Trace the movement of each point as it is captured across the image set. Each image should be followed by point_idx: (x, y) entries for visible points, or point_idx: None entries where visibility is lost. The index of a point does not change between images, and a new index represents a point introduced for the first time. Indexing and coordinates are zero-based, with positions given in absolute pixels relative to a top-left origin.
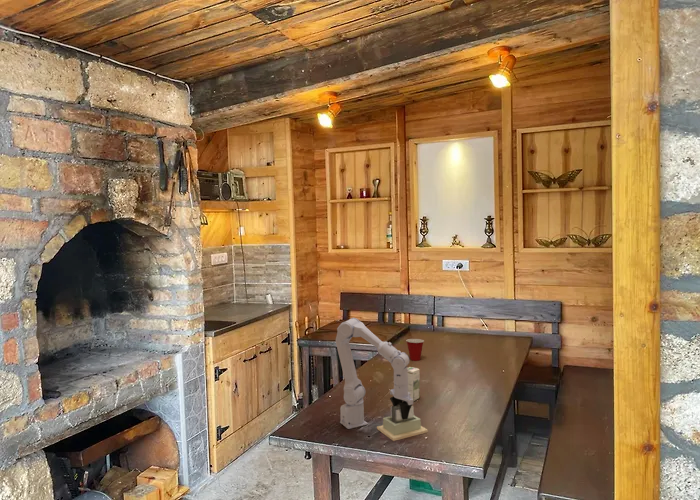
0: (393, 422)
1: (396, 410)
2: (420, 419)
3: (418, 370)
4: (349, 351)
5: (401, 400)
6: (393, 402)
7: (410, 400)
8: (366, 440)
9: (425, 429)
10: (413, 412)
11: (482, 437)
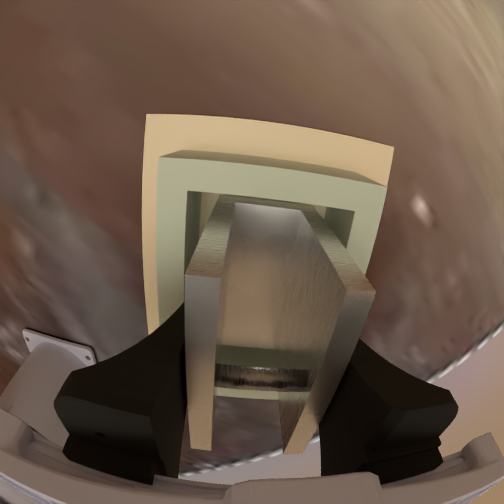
0: (222, 338)
1: (300, 449)
2: (386, 191)
3: None
4: None
5: (170, 399)
6: (178, 458)
7: (485, 488)
8: (240, 423)
9: (381, 154)
10: (346, 251)
11: None
